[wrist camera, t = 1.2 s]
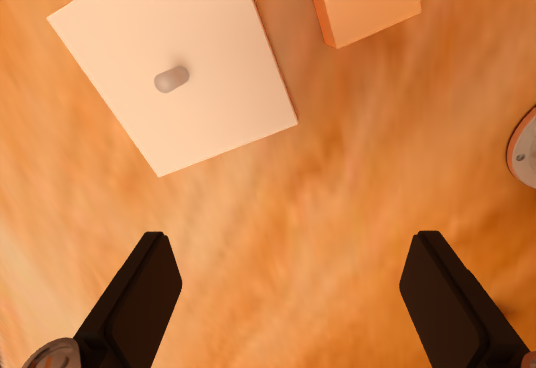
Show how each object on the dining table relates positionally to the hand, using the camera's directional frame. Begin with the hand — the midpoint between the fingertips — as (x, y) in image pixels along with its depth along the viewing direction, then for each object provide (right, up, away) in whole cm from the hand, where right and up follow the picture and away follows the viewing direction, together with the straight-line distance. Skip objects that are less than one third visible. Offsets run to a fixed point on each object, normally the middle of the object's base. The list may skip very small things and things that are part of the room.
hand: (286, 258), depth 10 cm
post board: (-9, +15, +18) cm, 25 cm away
